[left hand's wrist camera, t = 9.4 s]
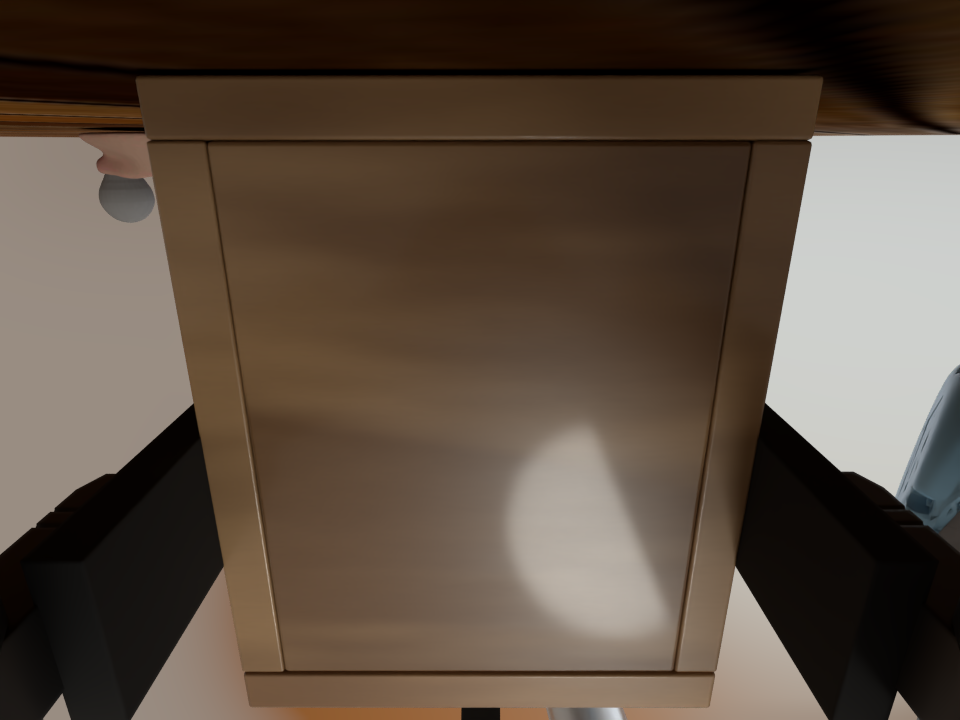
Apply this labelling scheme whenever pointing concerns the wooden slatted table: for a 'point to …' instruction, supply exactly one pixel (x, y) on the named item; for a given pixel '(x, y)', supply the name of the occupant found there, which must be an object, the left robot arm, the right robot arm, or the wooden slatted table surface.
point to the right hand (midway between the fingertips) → (480, 623)
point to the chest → (479, 354)
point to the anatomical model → (121, 153)
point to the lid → (480, 689)
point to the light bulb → (126, 198)
